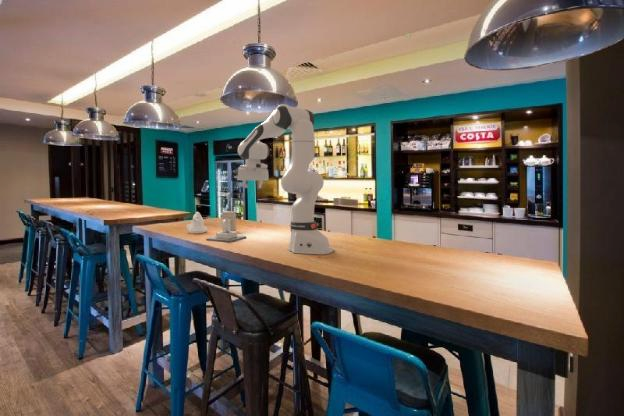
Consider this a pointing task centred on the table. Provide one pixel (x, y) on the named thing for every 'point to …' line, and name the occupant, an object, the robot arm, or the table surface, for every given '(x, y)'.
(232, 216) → the supplement box
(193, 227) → the soft serve ice cream
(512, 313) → the table surface
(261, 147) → the robot arm
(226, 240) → the socket board
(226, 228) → the battery cell
